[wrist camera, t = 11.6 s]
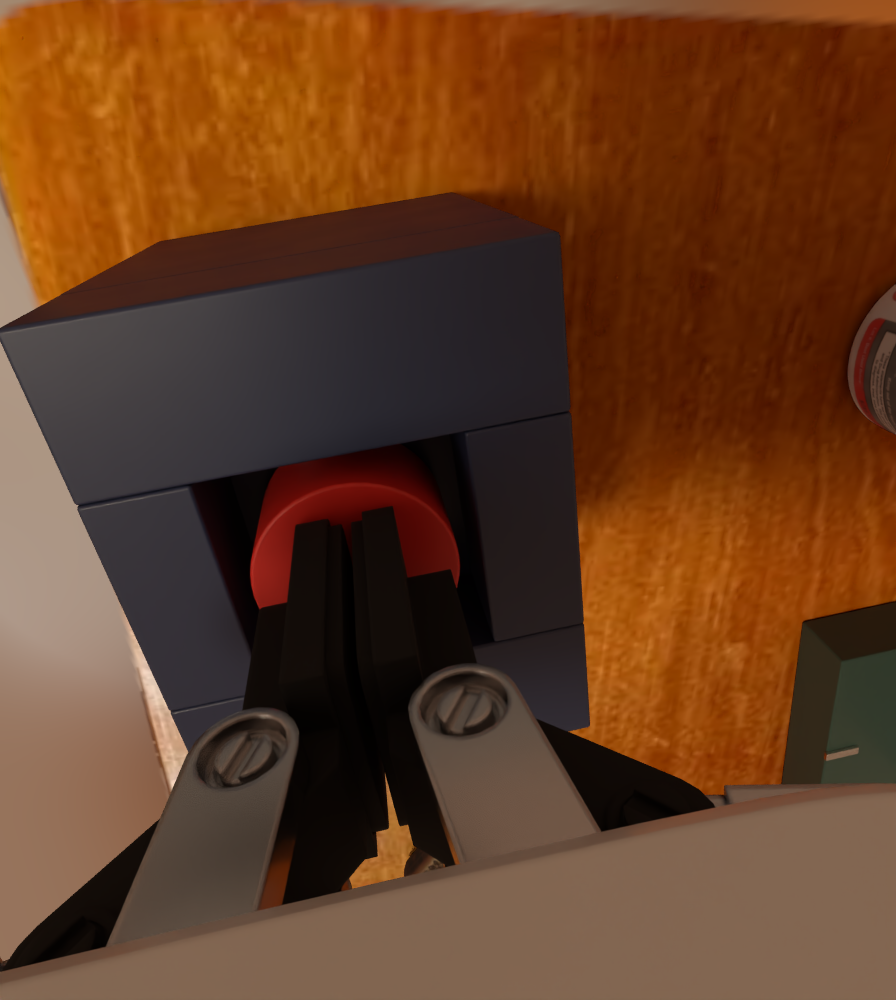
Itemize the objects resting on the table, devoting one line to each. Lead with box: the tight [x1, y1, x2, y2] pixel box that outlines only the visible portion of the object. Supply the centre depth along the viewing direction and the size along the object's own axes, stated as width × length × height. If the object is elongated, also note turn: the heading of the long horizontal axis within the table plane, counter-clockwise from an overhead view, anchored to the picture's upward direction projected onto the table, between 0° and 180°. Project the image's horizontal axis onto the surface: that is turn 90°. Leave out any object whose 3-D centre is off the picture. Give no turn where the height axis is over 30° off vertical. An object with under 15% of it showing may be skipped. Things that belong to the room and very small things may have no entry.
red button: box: [250, 444, 460, 609], centre depth 13 cm, size 4×4×2 cm
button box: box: [0, 192, 590, 752], centre depth 16 cm, size 10×8×10 cm
